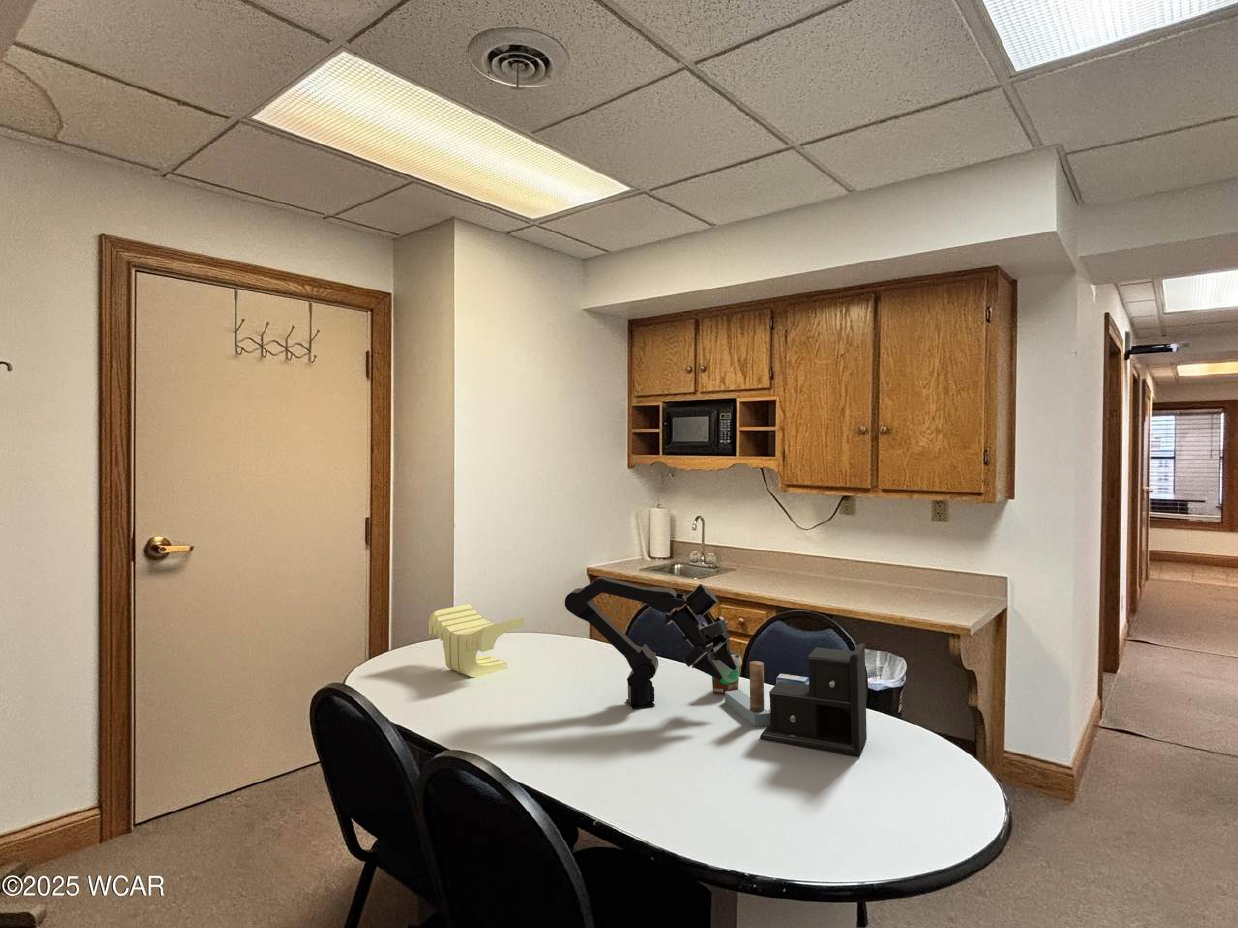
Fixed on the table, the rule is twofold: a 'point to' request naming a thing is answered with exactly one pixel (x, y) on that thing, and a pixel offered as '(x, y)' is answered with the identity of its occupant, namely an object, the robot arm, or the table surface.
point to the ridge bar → (746, 708)
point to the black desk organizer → (823, 704)
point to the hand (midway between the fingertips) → (728, 674)
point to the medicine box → (792, 679)
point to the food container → (727, 676)
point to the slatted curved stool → (469, 639)
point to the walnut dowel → (756, 686)
